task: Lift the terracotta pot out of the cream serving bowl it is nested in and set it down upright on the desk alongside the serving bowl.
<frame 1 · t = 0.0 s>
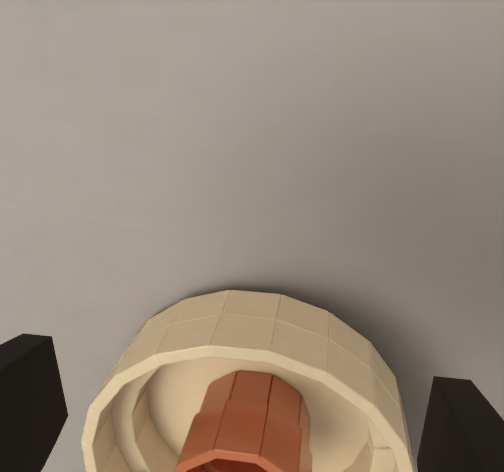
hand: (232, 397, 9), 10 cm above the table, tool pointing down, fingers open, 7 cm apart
terracotta pot: (255, 413, 22), resting on cream bowl
cream bowl: (256, 405, 23), on the table, touching terracotta pot
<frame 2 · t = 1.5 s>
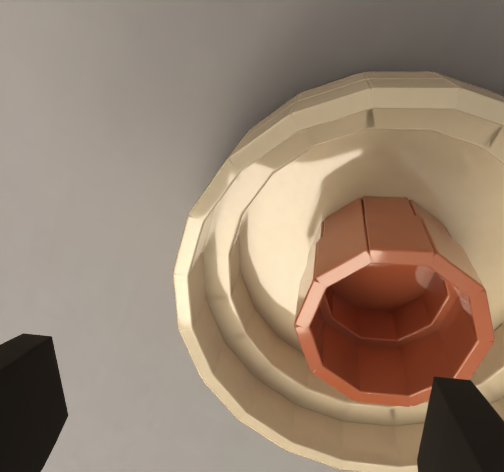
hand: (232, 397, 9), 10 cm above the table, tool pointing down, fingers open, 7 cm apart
terracotta pot: (378, 260, 17), resting on cream bowl
cream bowl: (377, 253, 18), on the table, touching terracotta pot
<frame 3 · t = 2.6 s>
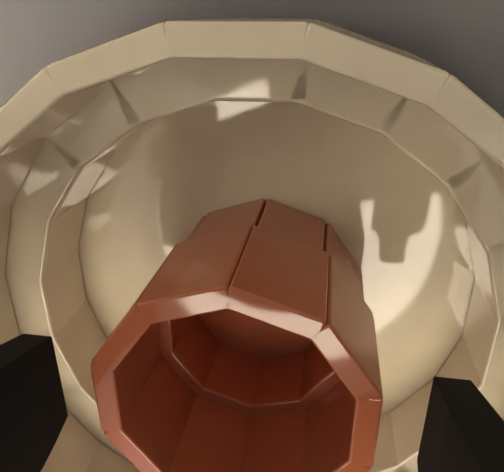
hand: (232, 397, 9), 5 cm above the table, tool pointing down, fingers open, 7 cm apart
terracotta pot: (264, 289, 13), resting on cream bowl
cream bowl: (267, 279, 13), on the table, touching terracotta pot
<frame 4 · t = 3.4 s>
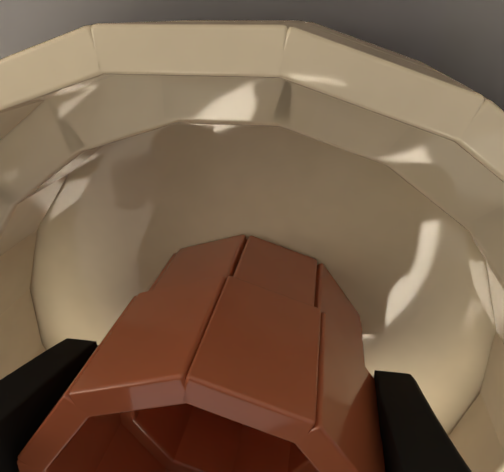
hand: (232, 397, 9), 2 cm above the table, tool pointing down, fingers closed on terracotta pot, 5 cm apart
terracotta pot: (247, 336, 11), resting on cream bowl, touching gripper
cream bowl: (251, 323, 11), on the table, touching terracotta pot
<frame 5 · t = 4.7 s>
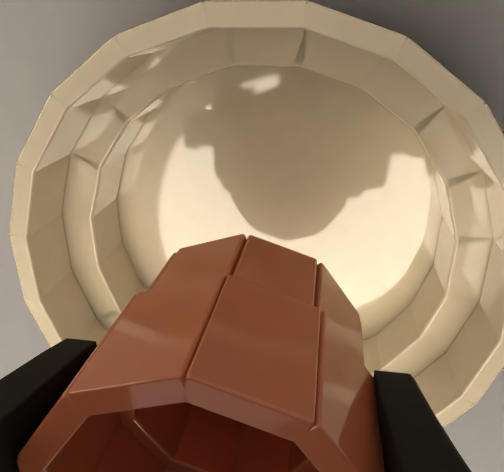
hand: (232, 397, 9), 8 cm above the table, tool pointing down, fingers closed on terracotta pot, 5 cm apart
terracotta pot: (247, 336, 11), point 6 cm above the table, touching gripper
cream bowl: (273, 223, 16), on the table
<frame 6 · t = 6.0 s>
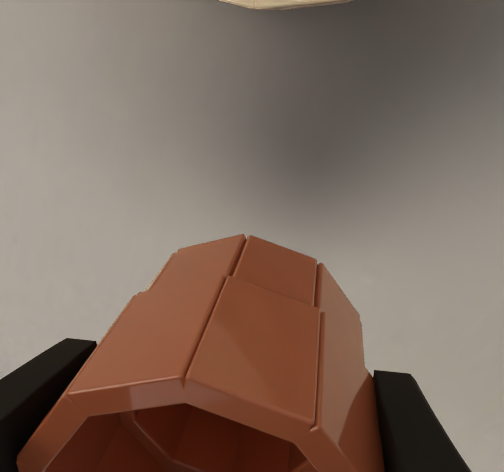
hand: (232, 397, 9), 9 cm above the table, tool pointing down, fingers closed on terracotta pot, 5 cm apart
terracotta pot: (247, 336, 11), point 7 cm above the table, touching gripper
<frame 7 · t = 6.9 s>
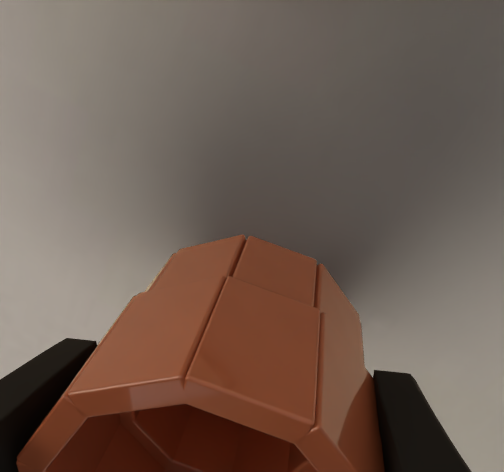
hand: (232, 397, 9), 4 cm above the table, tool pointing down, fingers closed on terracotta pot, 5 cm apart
terracotta pot: (247, 336, 11), point 2 cm above the table, touching gripper
when the fingers open (2 cm above the table, at t = 8.1 s): terracotta pot stays where it is, on the table.
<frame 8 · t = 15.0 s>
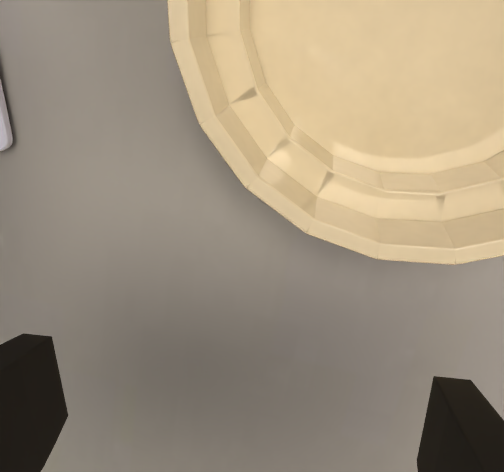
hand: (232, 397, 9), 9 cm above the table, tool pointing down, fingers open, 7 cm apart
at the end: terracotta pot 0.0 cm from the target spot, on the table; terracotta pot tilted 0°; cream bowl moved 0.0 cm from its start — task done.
